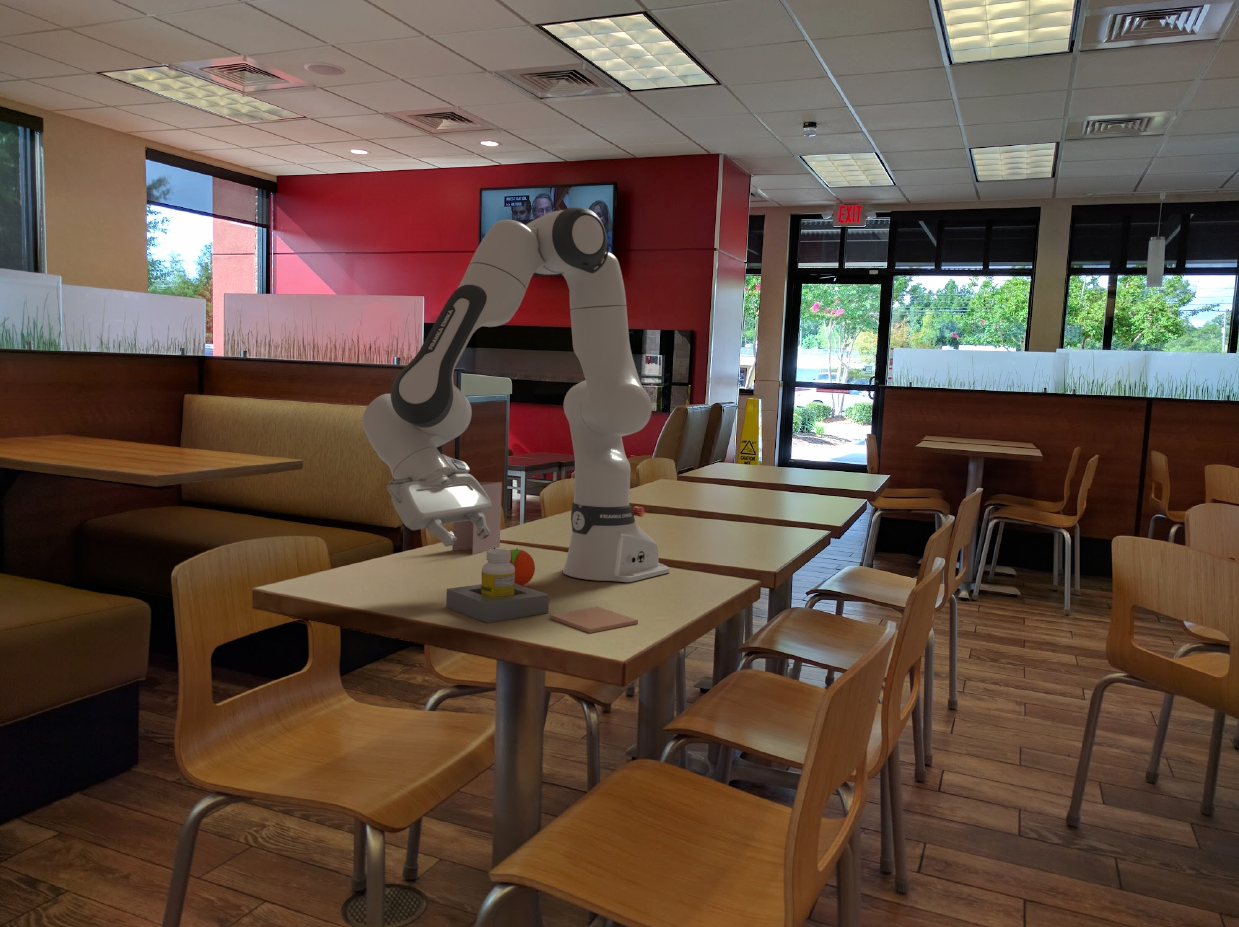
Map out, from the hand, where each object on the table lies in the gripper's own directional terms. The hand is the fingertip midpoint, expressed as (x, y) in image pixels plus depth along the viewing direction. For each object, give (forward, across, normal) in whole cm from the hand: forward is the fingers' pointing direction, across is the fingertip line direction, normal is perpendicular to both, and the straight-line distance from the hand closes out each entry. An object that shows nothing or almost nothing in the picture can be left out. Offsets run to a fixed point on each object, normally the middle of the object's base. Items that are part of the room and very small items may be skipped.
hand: (469, 540), depth 145 cm
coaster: (+23, +3, -8) cm, 25 cm away
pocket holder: (+12, 0, +4) cm, 12 cm away
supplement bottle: (+12, 0, +4) cm, 13 cm away
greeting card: (-11, +41, +27) cm, 50 cm away
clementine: (+7, +16, +8) cm, 19 cm away
